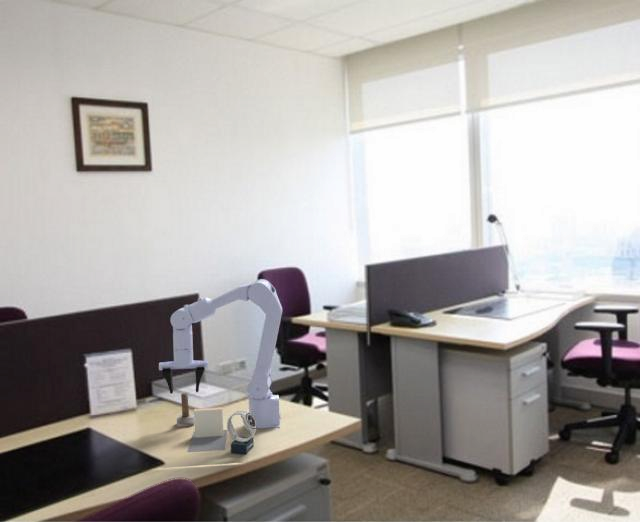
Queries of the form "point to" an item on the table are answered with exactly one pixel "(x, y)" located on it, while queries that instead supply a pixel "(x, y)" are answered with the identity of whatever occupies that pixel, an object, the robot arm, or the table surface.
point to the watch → (241, 443)
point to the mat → (207, 443)
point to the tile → (208, 422)
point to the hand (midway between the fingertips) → (184, 392)
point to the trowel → (185, 413)
